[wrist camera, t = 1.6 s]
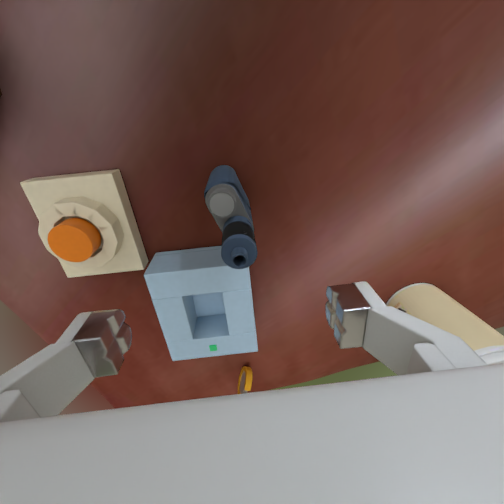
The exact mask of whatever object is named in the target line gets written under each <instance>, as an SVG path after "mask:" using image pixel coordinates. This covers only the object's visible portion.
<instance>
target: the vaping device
mask: <svg viewBox="0 0 504 504" xmlns="http://www.w3.org/2000/svg"><path fill="white" fill-rule="evenodd" d="M204 197H205V202H206V205H207V207H208V209H209V211H210V213H211V214H212V216H213V217H214V219H215V221H216V222H217V224H218V226H219V228H220V229H221V231H222V233H223V237H222V248H221V257H222V259H223V261H224V263H225V264H226V265H228V266H229V267H231V268H234V269H244V268H247V267H249V266H251V265H252V264H253V263H254V261H255V260H256V258H257V247H256V242H255V239H254V237H255V236H254V226H253V221H252V216H251V211H250V210H251V208H250V205H249V200H248V198H247V196H246V194H245V192H244V190H243V188H242V186H241V183H240V181H239V179H238V177H237V175H236V172H235V171H234V169H233V168H232V167H230V166H227V165H221V166H218V167H216V168H215V169H214V170H213V171H212V172H211V174H210V177H209V180H208V183H207V186H206V188H205V191H204Z"/></svg>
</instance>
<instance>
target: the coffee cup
mask: <svg viewBox="0 0 504 504" xmlns="http://www.w3.org/2000/svg"><path fill="white" fill-rule="evenodd" d="M386 306H392V307H394V308H396V309H398V310H401V311H403V312H405V313H407V314H409V315H412V316H414V317H416V318H418V319H420V320H423V321H425V322H427V323H429V324H431V325H433V326H436V327H438V328H440V329H442V330H444V331H447V332H449V333H451V334H453V335H455V336H458V337H460V338H461V339H462V340H463V341H464V342H465V343H466V344H467V345H468V346H469V347H470V348H471V349H472V350H473V351H474V352H475V353H477V354H478V355H479V356H480V357H481V358H482V359H483V360H484V361H485V362H486V363H487V364H488V365H491V364H500V363H504V336H503V335H501V334H500V333H498V332H497V331H496V330H495V329H493V328H492V327H491V326H489V325H488V324H486V323H485V322H484V321H482V320H481V319H480V318H478V317H477V316H476V315H474V314H473V313H472V312H470V311H469V310H468V309H466V308H465V307H463V306H462V305H461V304H459V303H458V302H457V301H455V300H454V299H452V298H451V297H450V296H448V295H447V294H446V293H444V292H443V291H441V290H440V289H438V288H437V287H435V286H433V285H431V284H427V283H417V284H412V285H409V286H406V287H404V288H402V289H400V290H399V291H397V292H396V293H395V294H394V295H393V296H392V297H391V298H390V299H389V300H388V302H387V303H386Z"/></svg>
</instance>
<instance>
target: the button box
mask: <svg viewBox="0 0 504 504" xmlns="http://www.w3.org/2000/svg"><path fill="white" fill-rule="evenodd" d="M20 184H21V186H22V188H23V190H24V192H25V194H26V196H27V198H28V200H29V202H30V204H31V206H32V208H33V210H34V212H35V214H36V216H37V218H38V220H39V228H38V234H39V236H40V238H41V240H42V241H43V243H44V245H45V247H46V249H47V250H48V251H49V252H50V253H51V254H53V255H54V256H55V257H56V258H58V259H59V261H60V263H61V265H62V267H63V269H64V271H65V273H66V275H67V277H68V278H70V277H79V276H89V275H98V274H107V273H116V272H126V271H135V270H144V268H145V267H146V265H147V263H148V258H147V255H146V252H145V248H144V245H143V242H142V239H141V236H140V233H139V230H138V226H137V223H136V220H135V217H134V214H133V211H132V208H131V204H130V201H129V198H128V195H127V192H126V189H125V186H124V182H123V179H122V176H121V173H120V170H119V169H115V170H106V171H96V172H86V173H76V174H66V175H56V176H46V177H37V178H31V179H28V180H25V181H22V182H20ZM69 218H81V219H84V220H86V221H88V222H90V223H92V224H93V225H94V226H95V227H96V228H97V229H98V231H99V233H100V236H101V245H100V247H99V248H98V249H97V250H96V251H95V252H94V253H93V255H92V256H91V257H90V258H88V259H87V260H85V261H82V262H70V261H66V260H64V259H62V258H60V257H58V256H57V255H56V254H55V253H54V252H53V251H52V250H51V248H50V247H49V244H48V234H49V232H50V230H51V229H52V228H54V227H55V226H57V225H58V224H60V223H61V222H63V221H64V220H66V219H69Z"/></svg>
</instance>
